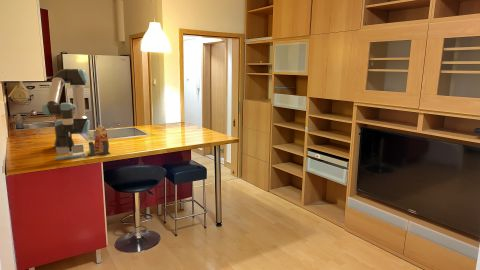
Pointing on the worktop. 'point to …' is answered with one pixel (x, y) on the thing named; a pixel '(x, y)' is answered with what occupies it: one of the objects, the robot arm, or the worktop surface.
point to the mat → (70, 157)
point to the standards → (92, 152)
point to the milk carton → (100, 138)
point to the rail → (65, 149)
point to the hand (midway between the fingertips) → (70, 154)
